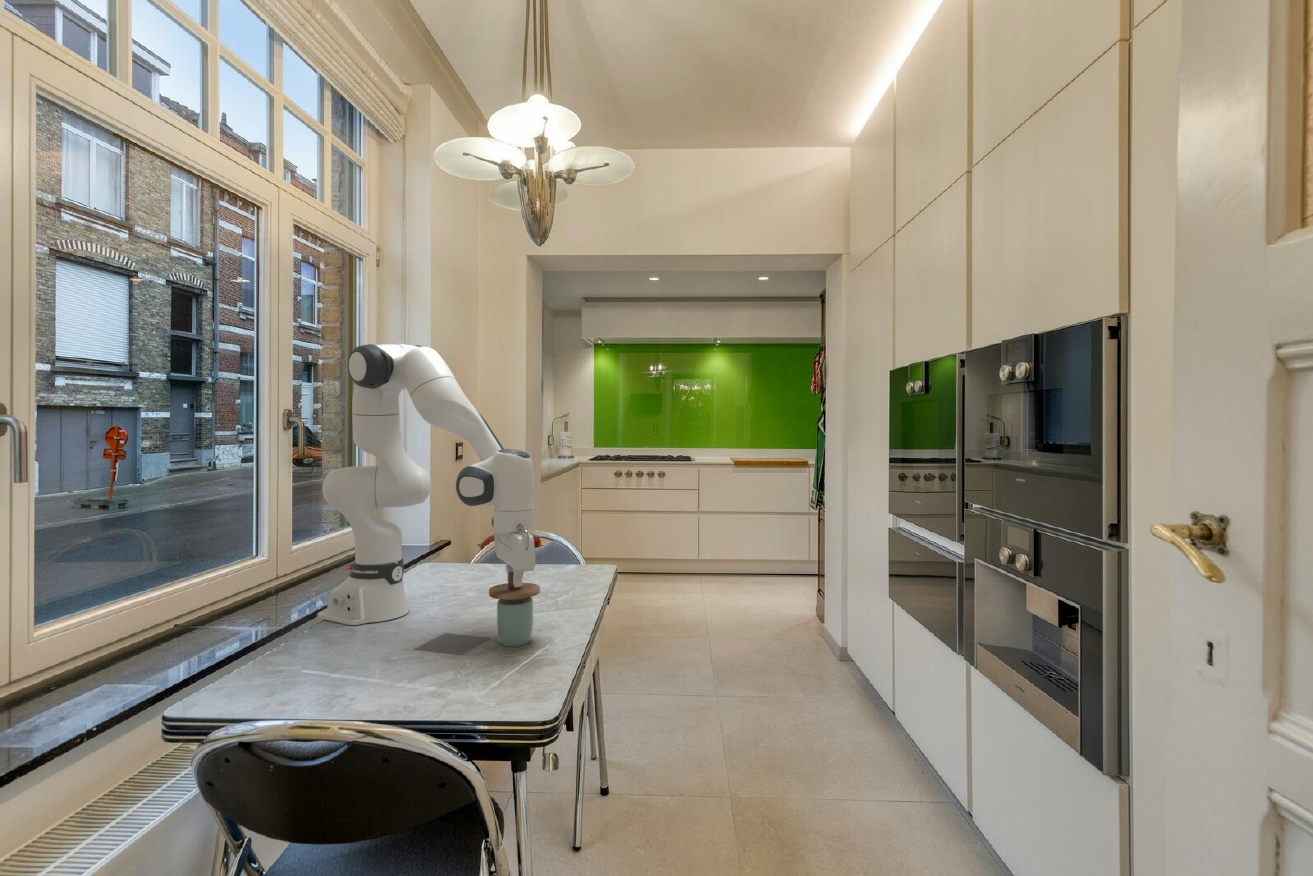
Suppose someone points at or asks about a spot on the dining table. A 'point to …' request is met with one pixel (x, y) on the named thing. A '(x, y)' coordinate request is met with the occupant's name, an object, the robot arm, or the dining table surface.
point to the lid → (513, 590)
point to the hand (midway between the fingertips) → (514, 584)
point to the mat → (452, 643)
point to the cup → (515, 621)
